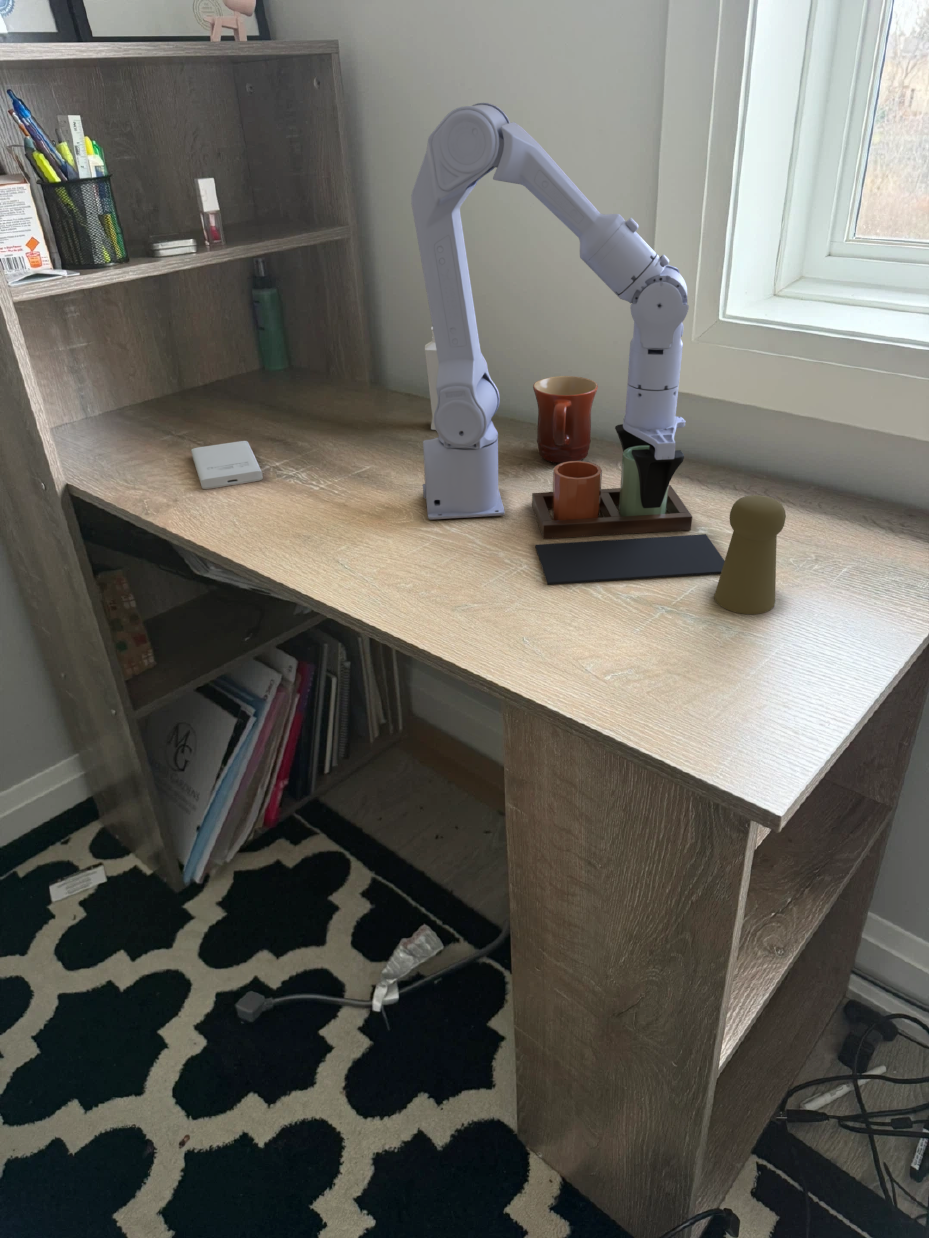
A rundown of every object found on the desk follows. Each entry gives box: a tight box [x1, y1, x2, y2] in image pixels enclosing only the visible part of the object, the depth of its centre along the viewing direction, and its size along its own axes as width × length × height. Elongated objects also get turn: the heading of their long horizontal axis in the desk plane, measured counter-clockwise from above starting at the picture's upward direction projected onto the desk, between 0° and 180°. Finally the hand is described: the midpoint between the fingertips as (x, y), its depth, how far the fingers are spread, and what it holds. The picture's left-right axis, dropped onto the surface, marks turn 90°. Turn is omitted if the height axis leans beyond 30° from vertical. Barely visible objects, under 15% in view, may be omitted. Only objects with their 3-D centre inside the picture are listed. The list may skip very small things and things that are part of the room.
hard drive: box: [190, 440, 264, 490], centre depth 126 cm, size 2×8×12 cm
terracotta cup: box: [551, 460, 603, 521], centre depth 107 cm, size 6×6×6 cm
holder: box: [531, 484, 693, 540], centre depth 109 cm, size 18×9×2 cm, turn 94°
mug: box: [532, 375, 599, 465], centre depth 123 cm, size 12×9×10 cm
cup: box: [618, 445, 670, 516], centre depth 107 cm, size 6×6×8 cm
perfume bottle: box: [424, 326, 439, 431], centre depth 135 cm, size 5×4×15 cm
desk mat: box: [535, 533, 725, 586], centre depth 100 cm, size 20×9×1 cm, turn 94°
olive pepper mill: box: [713, 494, 787, 615], centre depth 89 cm, size 6×6×11 cm
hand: (643, 494), depth 108 cm, fingers open, 6 cm apart
